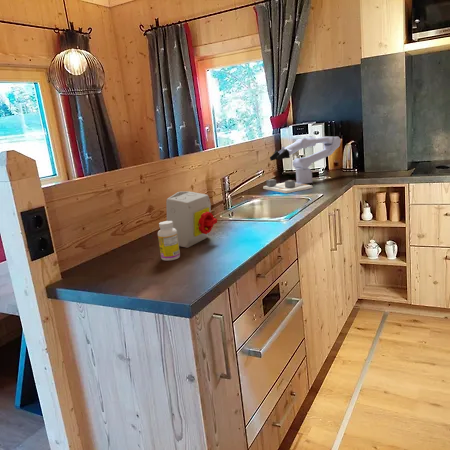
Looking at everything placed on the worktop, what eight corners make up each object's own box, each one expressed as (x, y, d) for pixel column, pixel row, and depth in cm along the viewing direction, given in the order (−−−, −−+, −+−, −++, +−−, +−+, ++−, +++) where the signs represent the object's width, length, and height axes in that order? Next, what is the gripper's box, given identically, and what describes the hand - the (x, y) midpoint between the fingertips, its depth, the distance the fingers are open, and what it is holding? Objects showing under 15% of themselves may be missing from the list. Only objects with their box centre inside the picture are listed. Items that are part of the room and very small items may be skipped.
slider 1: (272, 184, 267) (272, 178, 266) (276, 185, 263) (275, 179, 262) (266, 185, 265) (266, 179, 264) (270, 186, 262) (269, 180, 261)
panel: (287, 184, 275) (287, 181, 274) (312, 188, 252) (312, 185, 251) (263, 188, 268) (263, 186, 267) (286, 193, 245) (286, 190, 244)
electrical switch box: (199, 255, 157) (199, 202, 151) (167, 246, 164) (166, 195, 158) (220, 243, 169) (221, 193, 163) (190, 235, 176) (189, 188, 170)
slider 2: (290, 186, 256) (290, 179, 255) (295, 186, 252) (294, 180, 251) (285, 187, 254) (284, 180, 253) (289, 187, 250) (288, 181, 249)
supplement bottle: (161, 256, 153) (156, 221, 150) (180, 254, 153) (175, 219, 150) (160, 262, 146) (155, 225, 143) (180, 259, 147) (175, 223, 144)
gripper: (281, 144, 269) (265, 153, 264) (295, 142, 256) (278, 151, 251) (285, 154, 271) (269, 163, 266) (299, 153, 258) (282, 162, 253)
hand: (274, 158), depth 259 cm, fingers open, 7 cm apart
